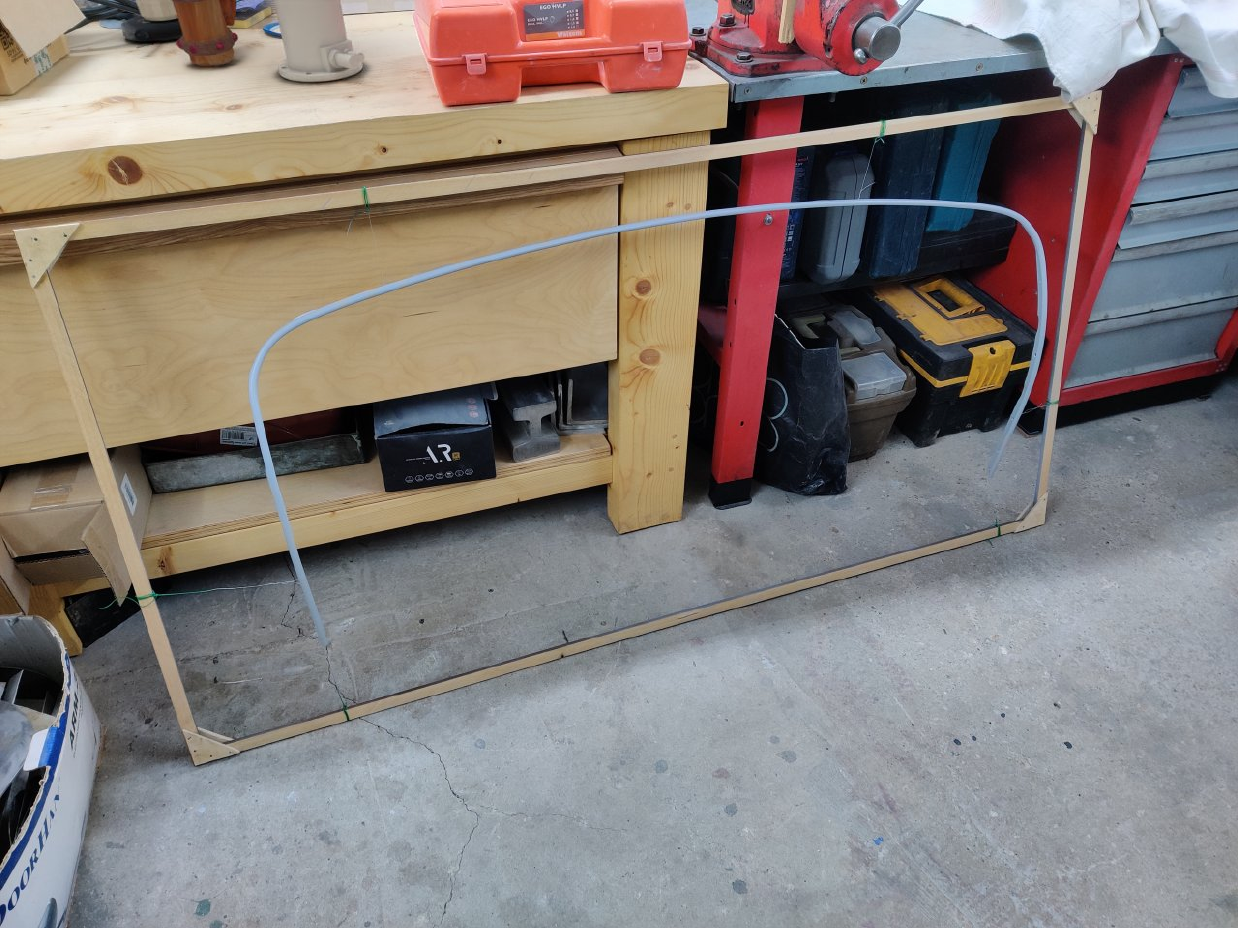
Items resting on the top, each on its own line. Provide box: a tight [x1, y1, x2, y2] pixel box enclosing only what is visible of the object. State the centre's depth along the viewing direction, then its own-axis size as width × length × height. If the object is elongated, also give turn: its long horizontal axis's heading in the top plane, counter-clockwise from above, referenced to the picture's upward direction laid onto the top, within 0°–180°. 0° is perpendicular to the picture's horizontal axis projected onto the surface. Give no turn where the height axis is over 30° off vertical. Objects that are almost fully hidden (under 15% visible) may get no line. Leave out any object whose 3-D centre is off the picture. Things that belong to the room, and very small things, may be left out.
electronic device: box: [120, 15, 183, 42], centre depth 152 cm, size 9×6×15 cm
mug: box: [171, 0, 239, 67], centre depth 138 cm, size 15×8×15 cm, turn 168°
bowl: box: [135, 0, 178, 21], centre depth 150 cm, size 7×7×4 cm
